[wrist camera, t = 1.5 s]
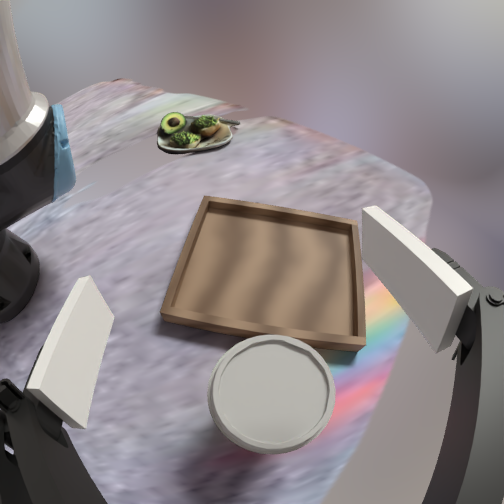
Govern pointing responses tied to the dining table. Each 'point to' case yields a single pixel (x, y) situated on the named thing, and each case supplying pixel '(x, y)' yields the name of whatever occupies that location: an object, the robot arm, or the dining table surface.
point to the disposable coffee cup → (271, 394)
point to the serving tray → (270, 275)
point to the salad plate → (193, 133)
